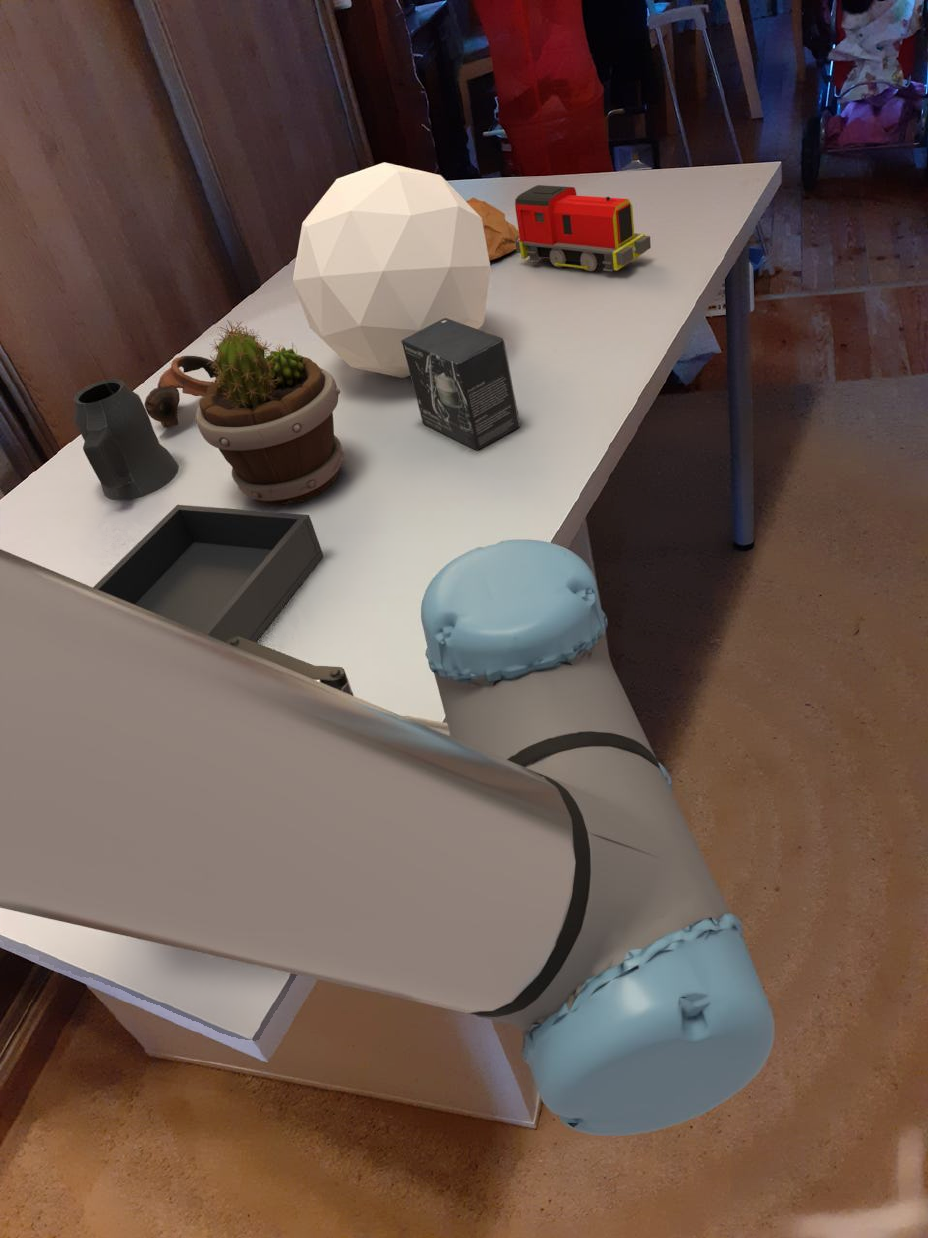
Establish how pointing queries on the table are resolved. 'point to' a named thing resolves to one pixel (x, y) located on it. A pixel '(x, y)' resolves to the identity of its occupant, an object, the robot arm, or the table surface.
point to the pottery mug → (166, 396)
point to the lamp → (389, 264)
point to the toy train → (577, 228)
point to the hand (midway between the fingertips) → (81, 718)
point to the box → (462, 382)
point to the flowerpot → (271, 419)
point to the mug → (121, 441)
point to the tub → (217, 568)
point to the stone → (495, 229)
